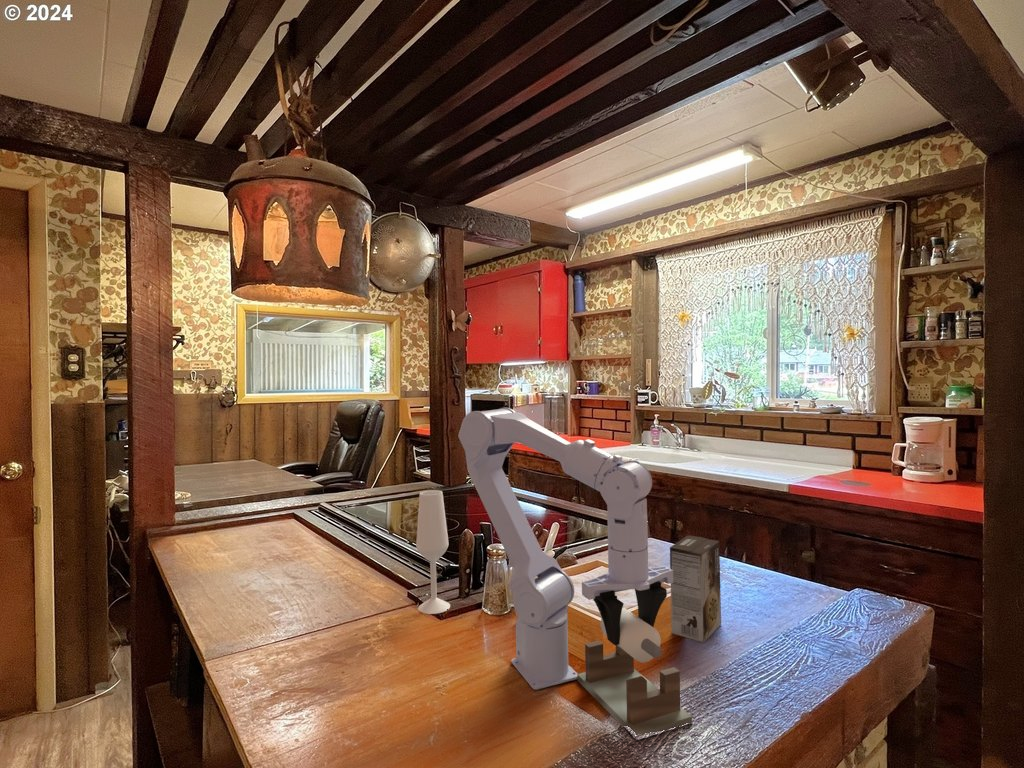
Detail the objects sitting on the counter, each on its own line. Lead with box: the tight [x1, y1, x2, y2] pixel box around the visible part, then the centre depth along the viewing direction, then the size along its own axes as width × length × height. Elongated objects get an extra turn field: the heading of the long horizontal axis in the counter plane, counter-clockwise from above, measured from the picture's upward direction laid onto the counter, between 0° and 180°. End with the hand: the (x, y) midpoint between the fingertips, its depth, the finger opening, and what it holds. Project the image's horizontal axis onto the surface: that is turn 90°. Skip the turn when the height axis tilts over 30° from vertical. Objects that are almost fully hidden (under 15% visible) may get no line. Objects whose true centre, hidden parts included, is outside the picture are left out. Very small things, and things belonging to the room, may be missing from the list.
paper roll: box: [600, 606, 663, 663], centre depth 83 cm, size 13×5×5 cm, turn 22°
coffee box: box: [669, 535, 722, 643], centre depth 105 cm, size 9×6×16 cm
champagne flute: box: [415, 489, 451, 615], centre depth 117 cm, size 7×7×24 cm
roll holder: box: [576, 640, 693, 735], centre depth 83 cm, size 16×9×6 cm, turn 22°
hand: (629, 638), depth 83 cm, fingers closed on paper roll, 5 cm apart
